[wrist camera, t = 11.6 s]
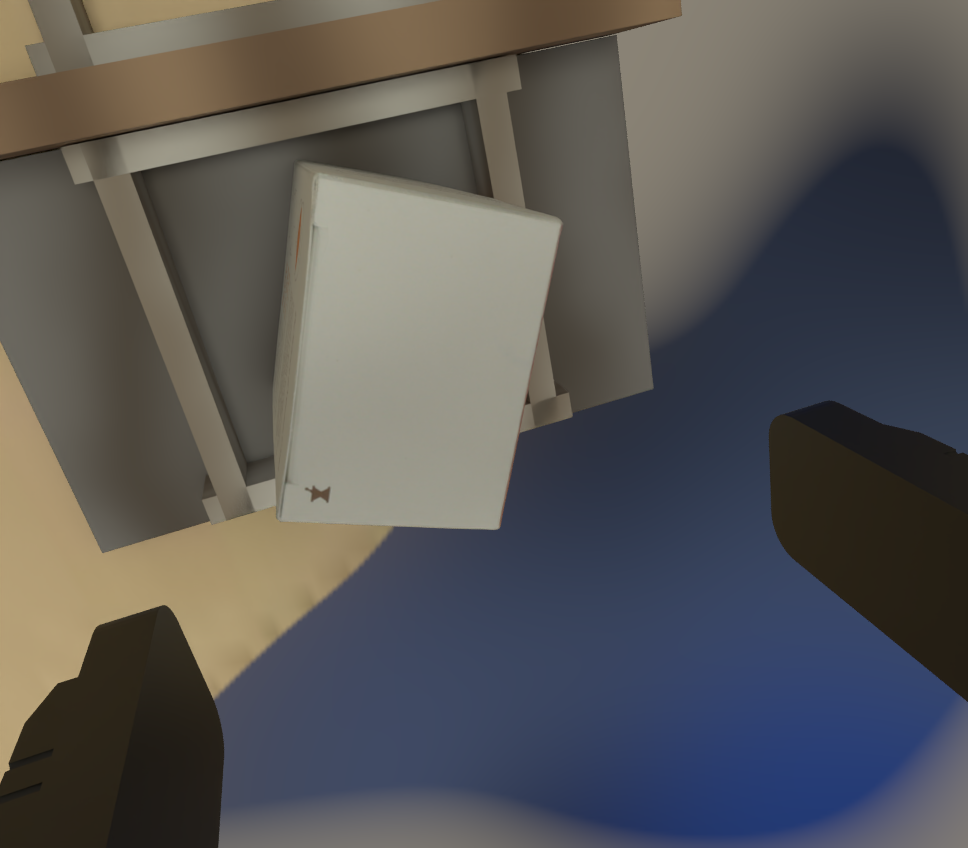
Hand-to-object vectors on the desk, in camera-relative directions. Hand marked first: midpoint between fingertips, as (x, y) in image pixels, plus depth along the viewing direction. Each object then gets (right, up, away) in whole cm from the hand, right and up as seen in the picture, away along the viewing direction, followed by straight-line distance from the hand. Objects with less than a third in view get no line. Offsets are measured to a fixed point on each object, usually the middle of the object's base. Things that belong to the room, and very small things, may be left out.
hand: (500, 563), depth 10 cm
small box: (-5, +7, +17) cm, 19 cm away
